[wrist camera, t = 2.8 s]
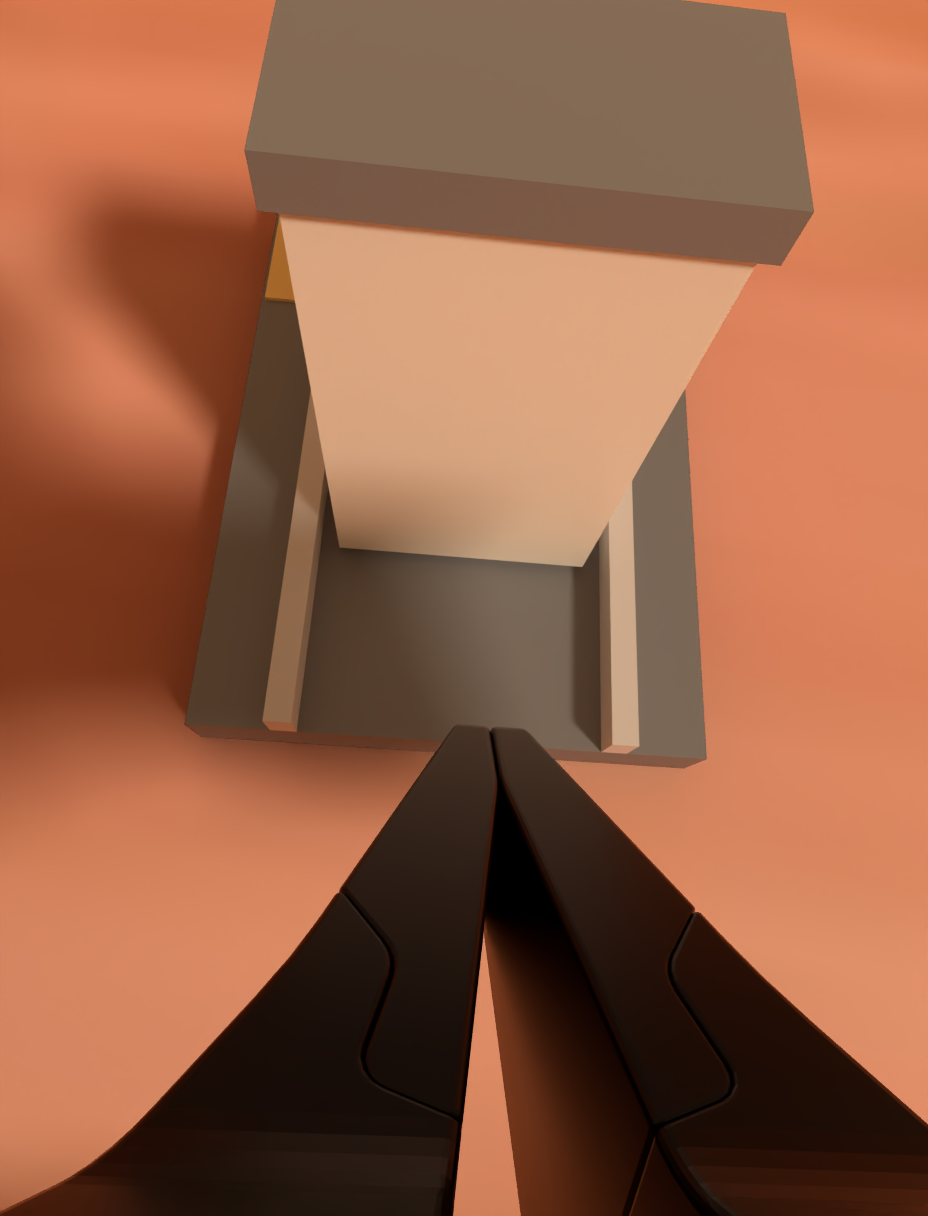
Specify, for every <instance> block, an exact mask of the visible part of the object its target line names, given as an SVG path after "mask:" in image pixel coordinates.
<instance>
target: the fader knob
mask: <svg viewBox="0 0 928 1216" xmlns="http://www.w3.org/2000/svg"><path fill="white" fill-rule="evenodd" d="M245 155H246V160H247V164H248V169H249V174H250V178H251V183H252V188H253V193H254V197H255V202H256V207H257V211H261V212H271V213H279V216H280V221H281V227H282V232H283V238H284V243H285V249H286V254H287V260H288V265H289V271H290V276H291V282H292V288H293V293H294V299H295V304H296V310H297V315H298V321H299V326H300V332H301V337H302V343H303V348H304V354H305V359H306V365H307V370H308V376H309V382H310V387H311V393H312V398H313V404H314V409H315V415H316V420H317V426H318V431H319V437H320V442H321V448H322V453H323V459H324V465H325V470H326V476H327V481H328V487H329V492H330V498H331V503H332V509H333V514H334V520H335V525H336V531H337V536H338V542H339V547H340V548H352V549H365V550H377V551H390V552H402V553H415V554H427V555H439V556H452V557H464V558H477V559H489V560H502V561H514V562H527V563H539V564H551V565H564V566H576V567H583V565H584V563H585V562H586V560H587V558H588V556H589V555H590V553H591V551H592V549H593V548H594V546H595V544H596V542H597V541H598V539H599V537H600V536H601V534H602V532H603V530H604V529H605V527H606V525H607V523H608V522H609V520H610V518H611V516H612V515H613V513H614V511H615V509H616V508H617V506H618V504H619V502H620V501H621V499H622V497H623V495H624V494H625V492H626V490H627V489H628V487H629V485H630V483H631V482H632V480H633V478H634V476H635V475H636V473H637V471H638V469H639V468H640V466H641V464H642V462H643V461H644V459H645V457H646V455H647V454H648V452H649V450H650V449H651V447H652V445H653V443H654V442H655V440H656V438H657V436H658V435H659V433H660V431H661V429H662V428H663V426H664V424H665V422H666V421H667V419H668V417H669V415H670V414H671V412H672V410H673V409H674V407H675V405H676V403H677V402H678V400H679V398H680V396H681V395H682V393H683V391H684V389H685V388H686V386H687V384H688V382H689V381H690V379H691V377H692V375H693V374H694V372H695V370H696V369H697V367H698V365H699V363H700V362H701V360H702V358H703V356H704V355H705V353H706V351H707V349H708V348H709V346H710V344H711V342H712V341H713V339H714V337H715V335H716V334H717V332H718V330H719V329H720V327H721V325H722V323H723V322H724V320H725V318H726V316H727V315H728V313H729V311H730V309H731V308H732V306H733V304H734V302H735V301H736V299H737V297H738V295H739V294H740V292H741V290H742V288H743V287H744V285H745V283H746V282H747V280H748V278H749V276H750V275H751V273H752V271H753V269H754V268H755V266H756V264H757V263H759V264H768V265H778V266H781V265H782V263H783V261H784V260H785V258H786V257H787V255H788V253H789V252H790V250H791V248H792V247H793V245H794V244H795V242H796V240H797V239H798V237H799V235H800V234H801V232H802V231H803V229H804V227H805V226H806V224H807V222H808V221H809V219H810V218H811V216H812V214H813V213H814V209H813V202H812V195H811V188H810V181H809V174H808V167H807V160H806V153H805V146H804V139H803V132H802V124H801V117H800V110H799V103H798V96H797V89H796V82H795V75H794V68H793V61H792V54H791V47H790V40H789V33H788V26H787V19H786V13H780V12H772V11H764V10H756V9H748V8H740V7H732V6H724V5H716V4H708V3H700V2H691V1H683V0H276V2H275V7H274V12H273V16H272V21H271V26H270V31H269V35H268V40H267V45H266V50H265V54H264V59H263V64H262V69H261V73H260V78H259V83H258V88H257V92H256V97H255V102H254V107H253V112H252V116H251V121H250V126H249V131H248V135H247V140H246V145H245Z"/></svg>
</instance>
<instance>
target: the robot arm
mask: <svg viewBox="0 0 928 1216" xmlns="http://www.w3.org/2000/svg"><path fill="white" fill-rule="evenodd" d="M483 934H484V937H485V945H486V953H487V960H488V968H489V976H490V983H491V991H492V999H493V1006H494V1014H495V1021H496V1029H497V1037H498V1044H499V1052H500V1060H501V1067H502V1075H503V1082H504V1090H505V1098H506V1105H507V1113H508V1121H509V1128H510V1136H511V1143H512V1151H513V1159H514V1166H515V1174H516V1182H517V1189H518V1197H519V1204H520V1212H521V1216H928V1124H927V1123H926V1122H925V1121H924V1120H922V1119H921V1118H920V1117H919V1116H918V1115H917V1114H916V1113H915V1112H913V1111H912V1110H911V1109H910V1108H909V1107H908V1106H907V1105H906V1104H904V1103H903V1102H902V1101H901V1100H900V1099H899V1098H898V1097H896V1096H895V1095H894V1094H893V1093H892V1092H891V1091H890V1090H889V1089H887V1088H886V1087H885V1086H884V1085H883V1084H882V1083H881V1082H879V1081H878V1080H877V1079H876V1078H875V1077H874V1076H873V1075H872V1074H870V1073H869V1072H868V1071H867V1070H866V1069H865V1068H864V1067H862V1066H861V1065H860V1064H859V1063H858V1062H857V1061H856V1060H855V1059H853V1058H852V1057H851V1056H850V1055H849V1054H848V1053H847V1052H845V1051H844V1050H843V1049H842V1048H841V1047H840V1046H839V1045H838V1044H836V1043H835V1042H834V1041H833V1040H832V1039H831V1038H830V1037H828V1036H827V1035H826V1034H825V1033H824V1032H823V1031H822V1030H821V1029H819V1028H818V1027H817V1026H816V1025H815V1024H814V1023H813V1022H812V1021H810V1020H809V1019H808V1018H807V1017H806V1016H805V1015H804V1014H803V1013H802V1012H801V1011H800V1010H798V1009H797V1008H796V1007H795V1006H794V1005H793V1004H792V1003H791V1002H790V1001H789V1000H788V999H787V998H785V997H784V996H783V995H782V994H781V993H780V992H779V991H778V990H777V989H776V988H775V987H773V986H772V985H771V984H770V983H769V982H768V981H767V980H766V979H765V978H764V977H763V976H762V975H761V974H760V973H759V972H758V971H757V970H756V969H755V968H754V967H753V966H752V965H751V964H750V963H749V962H748V961H747V960H746V959H745V958H744V957H743V956H742V955H741V954H740V953H739V952H738V951H737V950H736V949H735V948H734V947H733V946H732V945H731V944H730V943H729V942H728V941H727V940H726V939H725V938H724V937H723V936H722V935H721V934H720V933H719V932H718V931H717V930H716V929H715V928H714V927H713V926H712V925H711V924H710V922H709V921H708V920H707V919H706V918H705V917H704V916H703V915H702V914H701V913H699V912H695V908H694V906H693V905H692V904H691V903H690V902H689V901H688V900H687V899H686V898H685V897H684V896H683V894H682V893H681V892H680V891H679V890H678V889H677V888H676V887H675V886H674V885H673V884H672V883H671V882H670V881H669V880H668V879H667V878H666V877H665V875H664V874H663V873H662V872H661V871H660V870H659V869H658V868H657V867H656V866H655V865H654V864H653V863H652V862H651V861H650V860H649V859H648V858H647V857H646V855H645V854H644V853H643V852H642V851H641V850H640V849H639V848H638V847H637V846H636V845H635V844H634V843H633V842H632V841H631V840H630V839H629V838H628V837H627V835H626V834H625V833H624V832H623V831H622V830H621V829H620V828H619V827H618V826H617V825H616V824H615V823H614V822H613V821H612V820H611V819H610V818H609V816H608V815H607V814H606V813H605V812H604V811H603V810H602V809H601V808H600V807H599V806H598V805H597V804H596V803H595V802H594V801H593V800H592V799H591V798H590V796H589V795H588V794H587V793H586V792H585V791H584V790H583V789H582V788H581V787H580V786H579V785H578V784H577V783H576V782H575V781H574V780H573V779H572V778H571V776H570V775H569V774H568V773H567V772H566V771H565V770H564V769H563V768H562V767H561V766H560V765H559V764H558V763H557V762H556V761H555V760H554V759H553V757H552V756H551V755H550V754H549V753H548V752H547V751H546V750H545V749H544V748H543V747H542V746H541V745H540V744H539V743H538V742H537V741H536V740H535V739H534V737H533V736H532V735H531V734H530V733H529V732H528V731H526V730H525V729H522V728H508V727H494V728H492V729H491V731H490V730H489V728H487V727H486V726H478V725H463V724H457V725H455V726H454V727H453V728H452V729H451V731H450V732H449V734H448V735H447V737H446V738H445V739H444V741H443V742H442V744H441V745H440V747H439V748H438V749H437V751H436V752H435V754H434V755H433V757H432V758H431V759H430V761H429V762H428V764H427V765H426V767H425V768H424V769H423V771H422V772H421V774H420V775H419V777H418V778H417V779H416V781H415V782H414V784H413V785H412V787H411V788H410V789H409V791H408V792H407V794H406V795H405V797H404V798H403V799H402V801H401V802H400V804H399V805H398V807H397V808H396V809H395V811H394V812H393V814H392V815H391V817H390V818H389V819H388V821H387V822H386V824H385V825H384V827H383V828H382V829H381V831H380V832H379V834H378V835H377V837H376V838H375V839H374V841H373V842H372V844H371V845H370V847H369V848H368V849H367V851H366V852H365V854H364V855H363V857H362V858H361V859H360V861H359V862H358V864H357V865H356V867H355V868H354V869H353V871H352V872H351V874H350V875H349V877H348V878H347V879H346V881H345V882H344V884H343V885H342V887H341V888H340V891H339V893H337V894H336V895H335V896H334V897H333V899H332V900H331V902H330V903H329V905H328V906H327V907H326V909H325V910H324V912H323V913H322V915H321V916H320V917H319V919H318V920H317V922H316V923H315V924H314V926H313V927H312V928H311V929H310V931H309V932H308V933H307V935H306V936H305V937H304V939H303V940H302V941H301V943H300V944H299V945H298V947H297V948H296V949H295V951H294V952H293V953H292V954H291V956H290V957H289V958H288V959H287V960H286V962H285V963H284V964H283V965H282V966H281V967H280V968H279V970H278V971H277V972H276V973H275V974H274V975H273V976H272V978H271V979H270V980H269V981H268V982H267V983H266V984H265V986H264V987H263V988H262V989H261V990H260V991H259V992H258V994H257V995H256V996H255V997H254V998H253V999H252V1000H251V1001H250V1002H249V1004H248V1005H247V1006H246V1007H245V1008H244V1009H243V1010H242V1011H241V1012H240V1013H239V1014H238V1015H237V1017H236V1018H235V1019H234V1020H233V1021H232V1022H231V1023H230V1024H229V1025H228V1026H227V1027H226V1028H225V1029H224V1031H223V1032H222V1033H221V1034H220V1035H219V1036H218V1037H217V1038H216V1039H215V1040H214V1041H213V1042H212V1043H211V1045H210V1046H209V1047H208V1048H207V1049H206V1050H205V1051H204V1052H203V1053H202V1054H201V1055H200V1056H199V1057H198V1059H197V1060H196V1061H195V1062H194V1063H193V1064H192V1065H191V1066H190V1067H189V1068H188V1069H187V1070H186V1072H185V1073H184V1074H183V1075H182V1076H181V1077H180V1078H179V1079H178V1080H177V1081H176V1082H175V1083H174V1084H173V1086H172V1087H171V1088H170V1089H169V1090H168V1091H167V1092H166V1093H165V1094H164V1095H163V1096H162V1097H161V1098H160V1100H159V1101H158V1102H157V1103H156V1104H155V1105H154V1106H153V1107H152V1108H151V1109H150V1110H149V1111H148V1112H147V1113H146V1114H145V1115H144V1116H143V1118H142V1119H141V1120H140V1121H139V1122H138V1123H137V1124H136V1125H135V1126H134V1127H133V1128H132V1129H131V1130H130V1131H129V1132H127V1133H126V1134H125V1135H124V1136H123V1137H122V1138H121V1139H120V1140H119V1141H117V1142H116V1143H115V1144H114V1145H113V1146H112V1147H111V1148H109V1149H108V1150H107V1151H106V1152H104V1153H103V1154H102V1155H100V1156H99V1157H98V1158H97V1159H95V1160H94V1161H93V1162H92V1163H90V1164H89V1165H87V1166H86V1167H84V1168H83V1169H81V1170H80V1171H78V1172H77V1173H75V1174H74V1175H72V1176H71V1177H69V1178H68V1179H66V1180H64V1181H62V1182H60V1183H58V1184H56V1185H54V1186H52V1187H50V1188H48V1189H46V1190H44V1191H42V1192H40V1193H38V1194H36V1195H34V1196H32V1197H30V1198H27V1199H25V1200H23V1201H21V1202H19V1203H17V1204H15V1205H13V1206H11V1207H9V1208H7V1209H5V1210H3V1211H1V1212H0V1216H453V1211H454V1200H455V1190H456V1180H457V1170H458V1160H459V1151H460V1141H461V1129H462V1123H463V1114H464V1105H465V1096H466V1087H467V1078H468V1069H469V1060H470V1051H471V1042H472V1033H473V1024H474V1015H475V1006H476V997H477V988H478V979H479V970H480V961H481V952H482V943H483Z"/></svg>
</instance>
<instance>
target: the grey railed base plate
mask: <svg viewBox="0 0 928 1216" xmlns="http://www.w3.org/2000/svg"><path fill="white" fill-rule="evenodd" d="M457 724H463V725H478V726H486V727H487V728H489V730H490V731H491V729H492V728H494V727H508V728H522V729H525V730H526V731H528V732H529V733H530V734H531V735H532V736H533V737H534V739H535V740H536V741H537V742H538V743H539V744H540V745H541V746H542V747H543V748H544V749H545V750H546V751H547V752H548V753H549V754H550V755H551V756H552V757H553V759H554V760H566V761H581V762H596V763H611V764H626V765H642V766H657V767H672V768H686V767H688V766H691V765H693V764H696V763H698V762H701V761H703V760H706V759H707V757H706V740H705V723H704V706H703V689H702V671H701V654H700V637H699V620H698V603H697V586H696V569H695V551H694V534H693V517H692V500H691V483H690V466H689V448H688V431H687V414H686V397H685V389H684V391H683V393H682V395H681V396H680V398H679V400H678V402H677V403H676V405H675V407H674V409H673V410H672V412H671V414H670V415H669V417H668V419H667V421H666V422H665V424H664V426H663V428H662V429H661V431H660V433H659V435H658V436H657V438H656V440H655V442H654V443H653V445H652V447H651V449H650V450H649V452H648V454H647V455H646V457H645V459H644V461H643V462H642V464H641V466H640V468H639V469H638V471H637V473H636V475H635V476H634V478H633V480H632V482H631V483H630V485H629V487H628V489H627V490H626V492H625V494H624V495H623V497H622V499H621V501H620V502H619V504H618V506H617V508H616V509H615V511H614V513H613V515H612V516H611V518H610V520H609V522H608V523H607V525H606V527H605V529H604V530H603V532H602V534H601V536H600V537H599V539H598V541H597V542H596V544H595V546H594V548H593V549H592V551H591V553H590V555H589V556H588V558H587V560H586V562H585V563H584V565H583V567H576V566H564V565H551V564H539V563H527V562H514V561H502V560H489V559H477V558H464V557H452V556H439V555H427V554H415V553H402V552H390V551H377V550H365V549H352V548H340V547H339V542H338V536H337V531H336V525H335V520H334V514H333V509H332V503H331V498H330V492H329V487H328V481H327V476H326V470H325V465H324V459H323V453H322V448H321V442H320V437H319V431H318V426H317V420H316V415H315V409H314V404H313V398H312V393H311V387H310V382H309V376H308V370H307V365H306V359H305V354H304V348H303V343H302V337H301V332H300V326H299V321H298V315H297V310H296V304H295V299H294V293H293V288H292V282H291V276H290V271H289V265H288V260H287V254H286V249H285V243H284V238H283V232H282V227H281V221H280V216H279V213H277V218H276V224H275V229H274V235H273V240H272V246H271V251H270V257H269V262H268V268H267V273H266V279H265V284H264V290H263V295H262V301H261V306H260V312H259V317H258V323H257V328H256V334H255V339H254V345H253V350H252V356H251V361H250V367H249V372H248V378H247V383H246V389H245V394H244V400H243V405H242V411H241V416H240V422H239V427H238V433H237V438H236V444H235V449H234V455H233V460H232V466H231V471H230V477H229V482H228V488H227V493H226V499H225V504H224V510H223V515H222V521H221V526H220V532H219V537H218V543H217V548H216V554H215V559H214V565H213V570H212V576H211V581H210V587H209V592H208V598H207V603H206V609H205V614H204V620H203V625H202V631H201V636H200V642H199V647H198V653H197V658H196V664H195V669H194V675H193V680H192V686H191V691H190V697H189V702H188V708H187V713H186V719H185V725H186V726H187V727H189V728H190V729H191V730H193V731H194V732H195V733H197V734H198V735H200V736H201V737H216V738H231V739H246V740H261V741H277V742H292V743H307V744H322V745H337V746H353V747H368V748H383V749H398V750H413V751H429V752H436V751H437V749H438V748H439V747H440V745H441V744H442V742H443V741H444V739H445V738H446V737H447V735H448V734H449V732H450V731H451V729H452V728H453V727H454V726H455V725H457Z"/></svg>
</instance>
